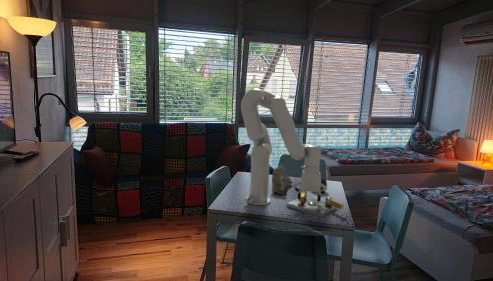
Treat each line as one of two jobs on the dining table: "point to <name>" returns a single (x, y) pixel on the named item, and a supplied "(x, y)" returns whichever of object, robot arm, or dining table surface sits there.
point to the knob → (333, 203)
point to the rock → (280, 180)
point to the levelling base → (311, 206)
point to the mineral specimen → (323, 182)
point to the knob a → (303, 196)
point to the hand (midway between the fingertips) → (308, 201)
